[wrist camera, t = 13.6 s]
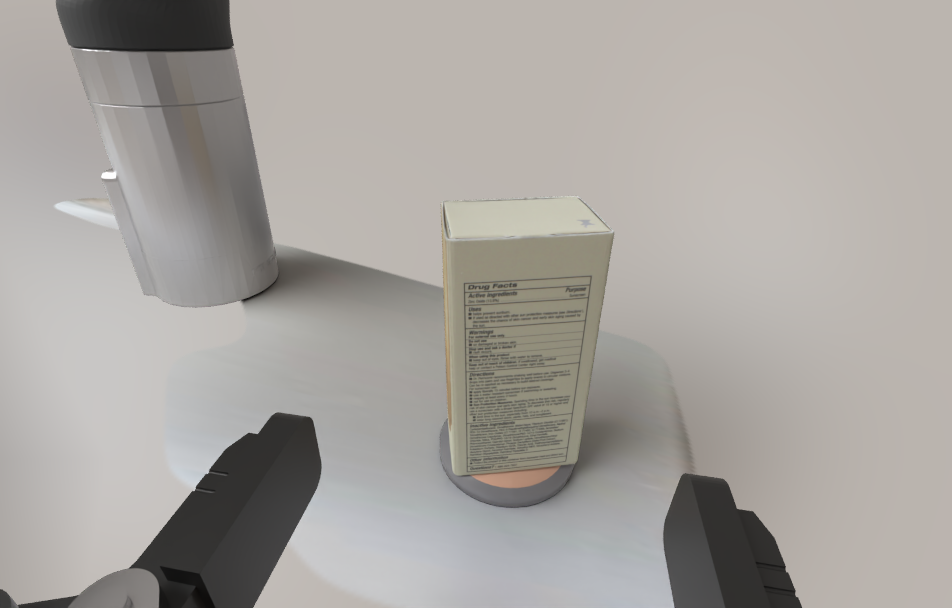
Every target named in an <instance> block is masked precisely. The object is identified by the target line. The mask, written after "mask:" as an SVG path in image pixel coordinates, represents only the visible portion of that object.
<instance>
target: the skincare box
mask: <svg viewBox="0 0 952 608" xmlns="http://www.w3.org/2000/svg"><path fill="white" fill-rule="evenodd" d="M441 222H442V247H443V283H444V315H445V345H446V378H447V409H448V428H449V441H450V452H451V461H452V470H453V473H454V474H455V475H458V476H462V475H475V474H487V473H498V472H507V471H517V470H526V469H535V468H543V467H552V466H560V465H568V464H575V463H576V462H577V460H578V455H579V449H580V443H581V436H582V430H583V424H584V417H585V411H586V406H587V399H588V392H589V387H590V380H591V374H592V368H593V362H594V355H595V349H596V343H597V337H598V331H599V323H600V317H601V310H602V305H603V299H604V293H605V286H606V281H607V273H608V267H609V261H610V254H611V249H612V244H613V237H614V231H613V230H612V229H611V228H610V227H609V226H608V225H607V224H606V222H604V221H603V219H602V218H601V217H600V216H599V215H598V214H597V213H596V212H595V211H594V210H593V209H592V208H591V207H590V206H589V205H588V204H587V203H585V202H584V201H583V200H582V199H581V198H580V197H578V196H569V197H540V198H537V197H535V198H511V199H486V200H462V201H442V202H441Z"/></svg>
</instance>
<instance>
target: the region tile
mask: <svg viewBox="0 0 952 608" xmlns="http://www.w3.org/2000/svg"><path fill="white" fill-rule="evenodd" d="M440 458H441V462H442V466H443V468H444V470H445V472H446V474H447V476H448V477H449V478H450V480H451V481H452V482H453V483H454V484H455V485H456V486H457V487H458V488H459V489H460V490H462V491H463V492H464V493H466V494H467V495H469V496H470V497H472V498H474V499H477V500H479V501H481V502H484V503H487V504H491V505H495V506H501V507H523V506H529V505H533V504H537V503H540V502H542V501H545V500H547V499H549V498H550V497H552V496H554V495H555V494H556V493H558V492H559V491H560V490H561V489H562V488H563V487H564V486H565V484H566V483H567V481H568V480H569V478H570V476H571V474H572V471H573V467H574V464H568V465H560V466H552V467H543V468H535V469H526V470H517V471H507V472H498V473H487V474H475V475H462V476H458V475H455V474H454V473H453V470H452V461H451V452H450V441H449V428H448V418H447V420H446V421H445V423H444V425H443V427H442V430H441V434H440Z"/></svg>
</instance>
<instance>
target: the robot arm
mask: <svg viewBox="0 0 952 608" xmlns="http://www.w3.org/2000/svg"><path fill="white" fill-rule="evenodd" d="M56 7H57V11H58V15H59V18H60V22H61V24H62V27H63V30H64V33H65V36H66V39H67V42H68V44H69V45H71V48H70V49H71V52H72V55H73V58H74V61H75V63H76V66H77V69H78V72H79V75H80V77H81V80H82V83H83V86H84V89H85V92H86V94H87V97H88V100H89V103H90V105H91V108H92V111H93V114H94V117H95V120H96V123H97V126H98V128H99V131H100V134H101V137H102V140H103V143H104V145H105V148H106V151H107V154H108V157H109V160H110V163H111V166H112V169H109V170H106V171H104V172H103V174H102V177H101V178H102V182H103V185H104V188H105V190H106V193H107V196H108V199H109V201H110V204H111V207H112V210H113V212H114V215H115V218H116V220H117V223H118V226H119V229H120V231H121V234H122V237H123V239H124V242H125V245H126V247H127V250H128V253H129V256H130V258H131V261H132V264H133V267H134V269H135V272H136V274H137V277H138V280H139V283H140V285H141V288H142V291H143V294H144V295H153V296H157V297H159V298H160V299H161V300H163V301H164V302H166V303H169V304H172V305H176V306H182V307H210V306H217V305H223V304H228V303H232V302H236V301H239V300H242V299H245V298H248V297H251V296H253V295H255V294H257V293H260V292H261V291H263V290H265V289H266V288H268V287H269V286H270V285H271V284H272V283H274V282H275V280H276V279H277V277H278V273H279V270H278V265H277V260H276V252H275V247H274V245H273V240H272V235H271V230H270V224H269V219H268V214H267V209H266V204H265V199H264V194H263V189H262V184H261V179H260V174H259V169H258V164H257V159H256V155H255V149H254V144H253V139H252V134H251V129H250V124H249V120H248V114H247V109H246V104H245V99H244V95H243V90H242V85H241V80H240V75H239V70H238V65H237V60H236V55H235V50H234V48H233V47H232V46H233V45H234V44H233V39H232V34H231V28H230V17H229V16H230V15H229V0H56ZM320 475H321V458H320V453H319V448H318V443H317V438H316V433H315V428H314V423H313V420H312V419H311V418H310V417H306V416H299V415H292V414H285V413H275V414H274V415H272V416H271V417H270V419H269V420H268V421H267V423H266V424H265V425H264V427H263V428H262V429H261V431H260V432H259V433H258V434H253V433H248V434H246V435H245V436H243V437H242V438H241V439H239V440H238V441H236V442H235V443H234V444H232V445H231V446H229V447H228V448H227V449H226V450H225V451H224V452H223V453H222V455H221V456H220V457H219V458H218V460H217V461H216V462H215V463H214V465H213V466H212V467H211V468H210V471H209V473H208V474H206V475H205V476H204V477H203V478H202V480H201V481H200V482H199V483H198V485H197V486H196V489H195V491H192V492H191V493H190V495H189V496H188V497H187V499H186V500H185V501H184V502H183V503H182V505H181V506H180V507H179V509H178V510H177V511H176V512H175V514H174V515H173V516H172V517H171V519H170V520H169V521H168V522H167V524H166V525H165V526H164V527H163V529H162V530H161V531H160V533H159V534H158V535H157V536H156V537H155V539H154V540H153V541H152V542H151V544H150V545H149V546H148V547H147V549H146V550H145V551H144V553H143V554H142V555H141V556H140V557H139V559H138V560H137V561H136V562H135V563H134V564H133V565H132V566H131V567H130V568H129V569H125V570H121V571H117V572H114V573H112V574H109V575H107V576H105V577H103V578H101V579H100V580H98V581H96V582H95V583H93V584H92V585H91V586H89V587H88V588H87V589H85V590H84V591H83V592H82V593H81V594H80V595H77V596H73V597H67V598H60V599H54V600H48V601H41V602H35V603H28V604H21V605H17V604H16V603H15V602H14V601H13V599H12V598H11V597H10V596H9V595H8V594H7V593H6V592H5V591H3V590H1V589H0V608H253V607H254V605H255V603H256V601H257V599H258V597H259V596H260V594H261V592H262V590H263V588H264V586H265V584H266V583H267V580H268V579H269V577H270V575H271V573H272V571H273V569H274V568H275V566H276V564H277V562H278V560H279V558H280V556H281V555H282V552H283V551H284V549H285V547H286V545H287V543H288V541H289V540H290V538H291V536H292V534H293V532H294V530H295V528H296V526H297V525H298V523H299V521H300V519H301V517H302V515H303V513H304V512H305V510H306V508H307V506H308V504H309V502H310V500H311V498H312V497H313V495H314V493H315V491H316V489H317V486H318V483H319V480H320ZM663 541H664V551H665V557H666V562H667V568H668V573H669V579H670V584H671V590H672V595H673V601H674V606H675V608H802V606H801V604H800V601H799V599H798V597H796V596H795V589H794V586H793V584H792V581H791V579H790V576H789V574H788V573H787V572H786V570H785V567H786V566H785V564H784V561H783V559H782V557H781V554H780V551H779V549H778V546H777V544H776V541H775V539H774V537H773V536H772V534H771V533H770V532H769V531H768V530H767V528H766V527H765V526H764V525H763V523H762V522H761V521H760V520H759V518H758V517H757V516H756V515H755V513H754V512H752V511H746V510H739V509H737V508H736V505H735V502H734V499H733V496H732V494H731V491H730V488H729V485H728V484H727V482H726V481H725V480H724V479H720V478H714V477H707V476H700V475H693V474H686V473H685V474H683V475H682V476H681V478H680V481H679V483H678V486H677V489H676V492H675V494H674V497H673V500H672V502H671V505H670V508H669V510H668V513H667V516H666V519H665V523H664V533H663Z"/></svg>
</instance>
